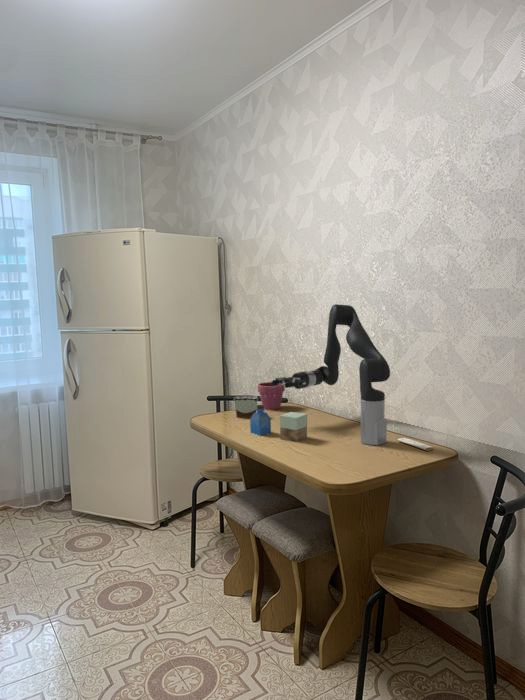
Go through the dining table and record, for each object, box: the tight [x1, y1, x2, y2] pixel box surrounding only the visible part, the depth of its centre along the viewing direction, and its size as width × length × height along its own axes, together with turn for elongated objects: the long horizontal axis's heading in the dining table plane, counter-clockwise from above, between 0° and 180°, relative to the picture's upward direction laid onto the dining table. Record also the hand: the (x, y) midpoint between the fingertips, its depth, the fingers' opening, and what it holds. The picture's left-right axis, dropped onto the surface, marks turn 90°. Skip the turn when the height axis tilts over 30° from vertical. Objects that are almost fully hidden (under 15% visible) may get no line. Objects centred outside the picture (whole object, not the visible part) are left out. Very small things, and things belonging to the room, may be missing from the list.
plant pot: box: [257, 381, 286, 411], centre depth 269 cm, size 14×14×13 cm
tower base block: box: [279, 425, 308, 443], centre depth 211 cm, size 8×8×5 cm
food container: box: [233, 394, 260, 418], centre depth 252 cm, size 12×6×10 cm, turn 84°
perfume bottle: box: [249, 404, 272, 436], centre depth 220 cm, size 6×6×12 cm
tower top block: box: [279, 411, 308, 430], centre depth 211 cm, size 8×8×5 cm
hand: (278, 384), depth 226 cm, fingers open, 8 cm apart
